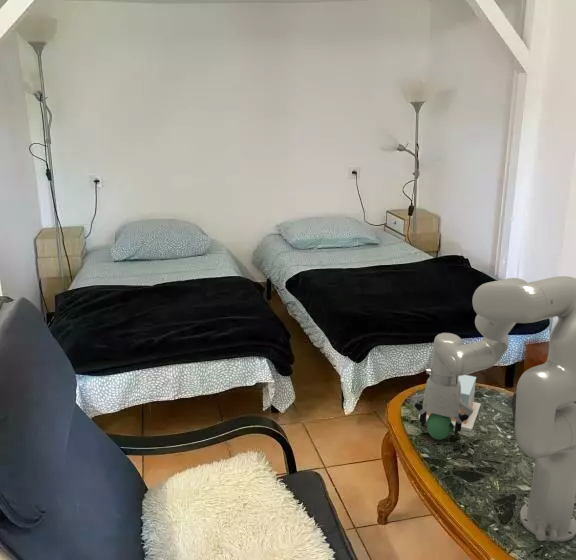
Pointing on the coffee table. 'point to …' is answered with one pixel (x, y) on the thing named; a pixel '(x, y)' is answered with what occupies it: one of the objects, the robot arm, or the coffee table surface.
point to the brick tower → (466, 402)
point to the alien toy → (439, 426)
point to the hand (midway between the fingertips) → (439, 428)
